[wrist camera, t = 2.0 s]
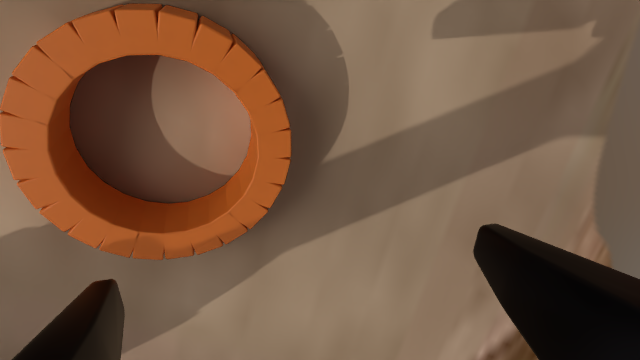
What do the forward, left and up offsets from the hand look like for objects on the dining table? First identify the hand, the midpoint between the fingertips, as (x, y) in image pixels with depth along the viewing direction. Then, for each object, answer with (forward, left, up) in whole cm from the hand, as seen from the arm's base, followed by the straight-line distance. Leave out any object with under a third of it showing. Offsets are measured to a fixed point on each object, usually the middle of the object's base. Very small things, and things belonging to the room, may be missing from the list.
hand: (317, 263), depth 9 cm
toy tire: (-4, 0, -10) cm, 11 cm away
